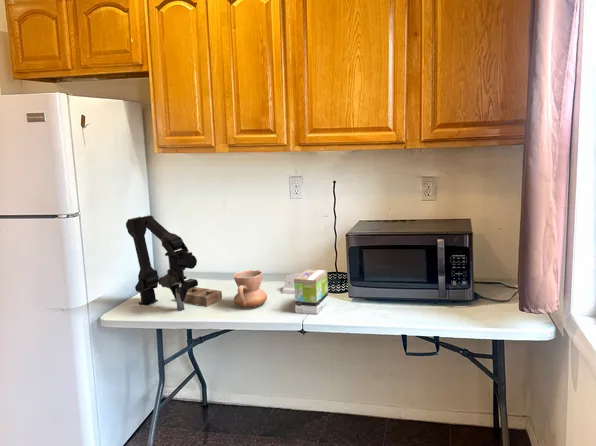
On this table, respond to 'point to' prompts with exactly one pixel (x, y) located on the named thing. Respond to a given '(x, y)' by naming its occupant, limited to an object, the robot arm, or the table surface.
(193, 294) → the hole block
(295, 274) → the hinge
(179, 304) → the peg
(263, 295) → the ceramic jug
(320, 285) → the tea box
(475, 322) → the table surface
